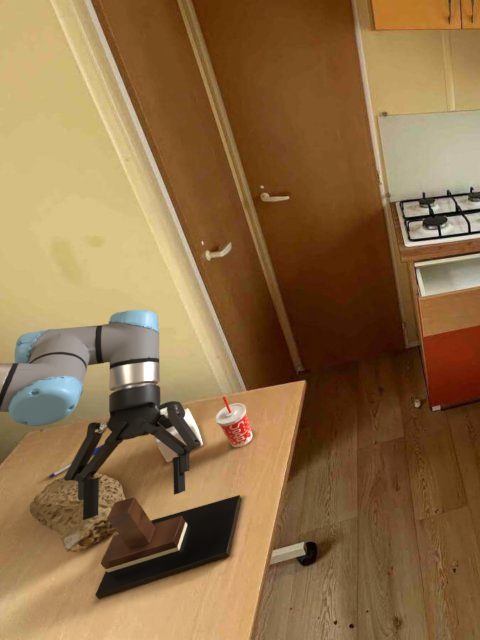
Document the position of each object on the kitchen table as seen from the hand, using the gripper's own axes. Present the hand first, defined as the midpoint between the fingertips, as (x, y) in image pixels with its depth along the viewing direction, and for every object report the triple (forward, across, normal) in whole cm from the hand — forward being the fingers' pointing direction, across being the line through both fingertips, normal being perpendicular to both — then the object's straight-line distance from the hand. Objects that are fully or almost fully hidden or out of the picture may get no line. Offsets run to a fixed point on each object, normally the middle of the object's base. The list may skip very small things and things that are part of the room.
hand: (136, 505), depth 78 cm
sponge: (0, +15, -15) cm, 21 cm away
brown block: (+8, 0, -4) cm, 9 cm away
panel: (+9, -4, -6) cm, 11 cm away
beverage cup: (-7, -11, -22) cm, 25 cm away
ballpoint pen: (-11, +23, -26) cm, 36 cm away
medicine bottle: (-9, +2, -24) cm, 26 cm away
